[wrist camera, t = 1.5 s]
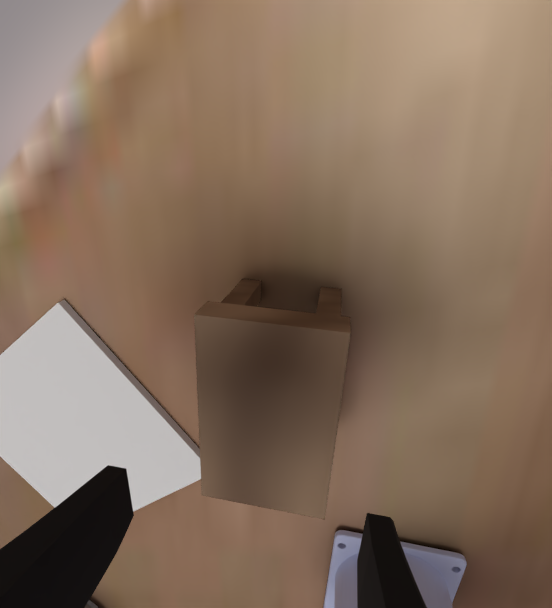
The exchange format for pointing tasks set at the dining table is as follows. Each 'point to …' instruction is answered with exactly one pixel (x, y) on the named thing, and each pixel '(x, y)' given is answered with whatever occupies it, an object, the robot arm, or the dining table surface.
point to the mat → (85, 416)
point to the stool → (269, 399)
